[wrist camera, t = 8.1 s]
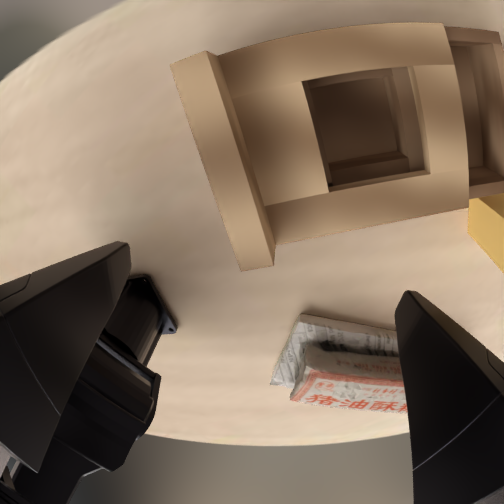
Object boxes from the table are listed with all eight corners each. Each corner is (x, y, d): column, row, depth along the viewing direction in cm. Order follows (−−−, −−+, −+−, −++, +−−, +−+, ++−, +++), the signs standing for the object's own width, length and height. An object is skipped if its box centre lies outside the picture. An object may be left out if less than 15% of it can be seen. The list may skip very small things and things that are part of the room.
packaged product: (473, 372, 21) (418, 425, 26) (458, 337, 25) (410, 393, 30) (297, 350, 21) (265, 413, 26) (298, 307, 25) (269, 375, 30)
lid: (462, 202, 14) (486, 222, 12) (245, 244, 17) (237, 272, 15) (436, 25, 9) (462, 16, 7) (186, 69, 13) (165, 66, 10)
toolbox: (485, 172, 16) (516, 190, 13) (251, 215, 21) (242, 243, 17) (466, 37, 12) (498, 32, 8) (205, 74, 16) (184, 71, 13)
